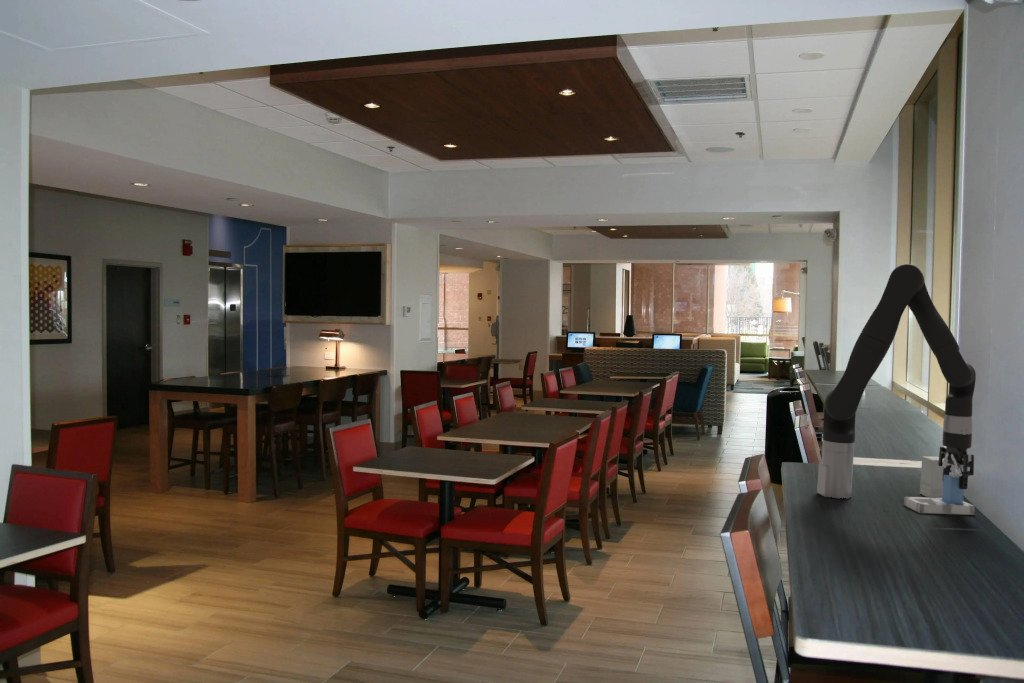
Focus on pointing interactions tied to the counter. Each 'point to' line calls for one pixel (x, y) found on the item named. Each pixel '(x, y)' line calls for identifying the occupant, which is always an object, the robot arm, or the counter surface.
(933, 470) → the supplement box
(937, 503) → the jack panel
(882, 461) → the counter surface
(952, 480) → the plug
